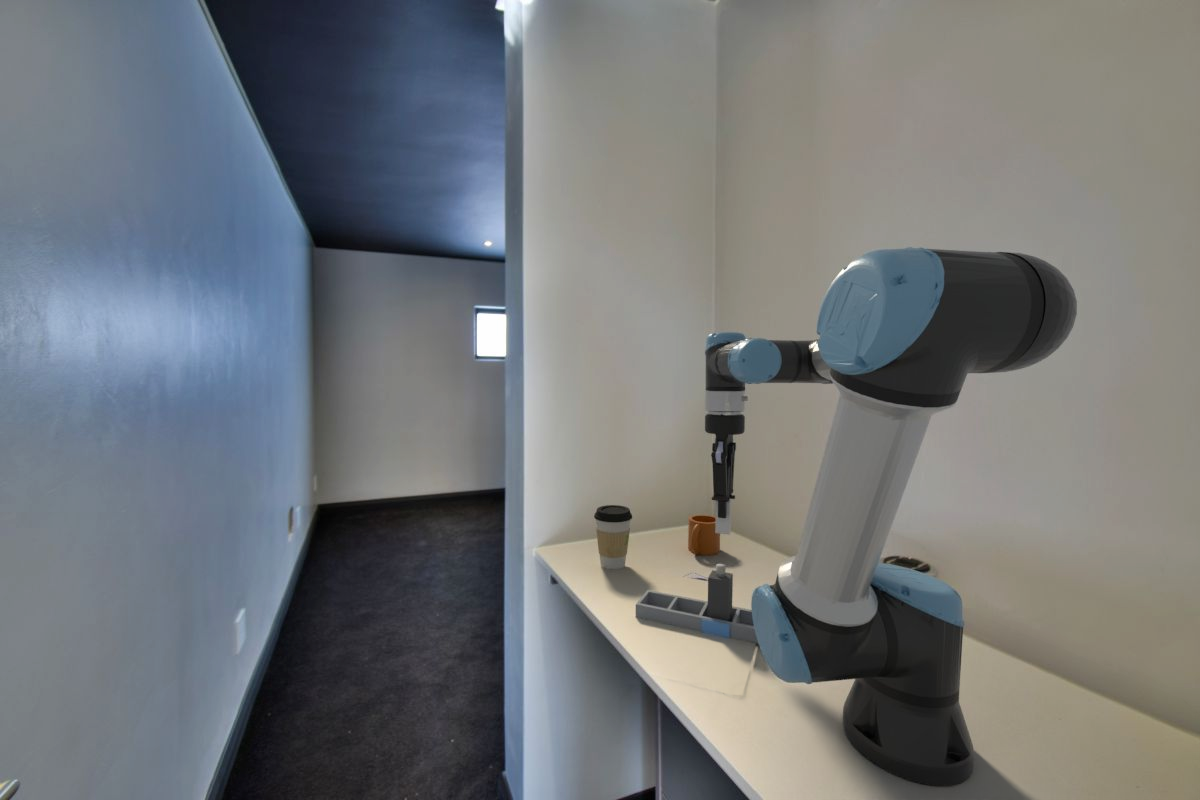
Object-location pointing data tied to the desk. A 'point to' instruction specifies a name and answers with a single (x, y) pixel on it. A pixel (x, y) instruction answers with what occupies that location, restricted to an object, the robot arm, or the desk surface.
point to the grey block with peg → (720, 594)
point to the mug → (703, 535)
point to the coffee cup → (613, 535)
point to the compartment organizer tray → (695, 616)
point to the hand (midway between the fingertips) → (723, 532)
